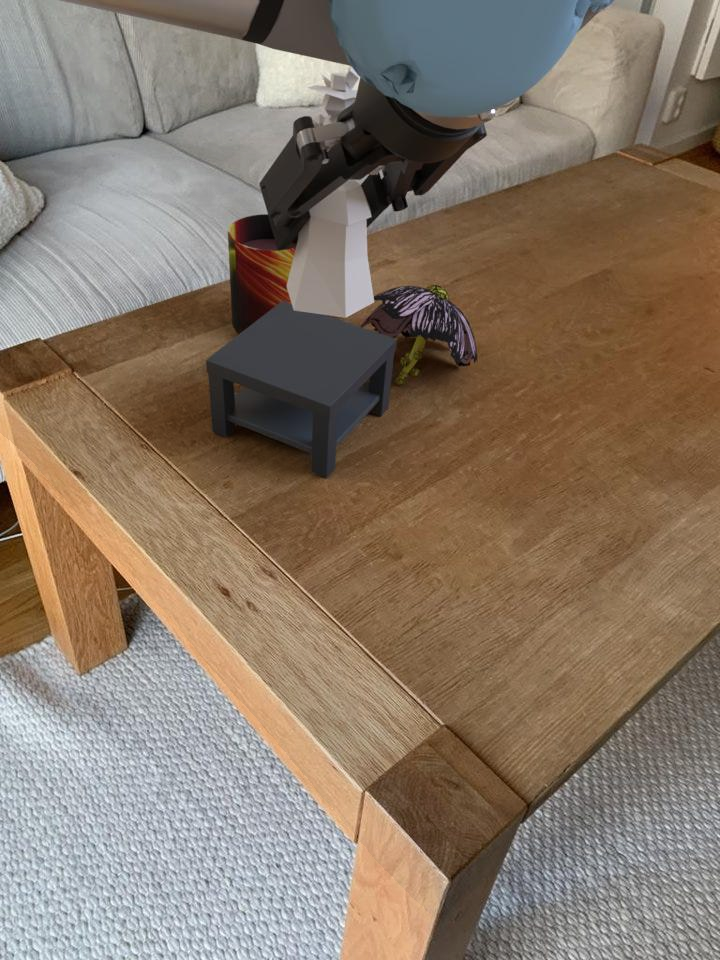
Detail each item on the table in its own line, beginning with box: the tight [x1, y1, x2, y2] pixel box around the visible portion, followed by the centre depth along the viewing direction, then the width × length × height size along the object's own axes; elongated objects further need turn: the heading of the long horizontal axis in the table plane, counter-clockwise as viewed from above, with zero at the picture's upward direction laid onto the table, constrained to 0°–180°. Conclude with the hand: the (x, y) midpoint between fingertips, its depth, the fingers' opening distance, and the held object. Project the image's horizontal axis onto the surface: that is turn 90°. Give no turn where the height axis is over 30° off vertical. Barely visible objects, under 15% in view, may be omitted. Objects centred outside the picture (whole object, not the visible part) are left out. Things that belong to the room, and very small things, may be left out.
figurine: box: [287, 66, 385, 319], centre depth 63 cm, size 7×8×18 cm
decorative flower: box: [359, 284, 478, 387], centre depth 94 cm, size 15×12×15 cm
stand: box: [205, 301, 398, 479], centre depth 85 cm, size 14×14×9 cm
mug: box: [227, 213, 299, 335], centre depth 100 cm, size 10×14×12 cm
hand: (314, 227), depth 68 cm, fingers closed on figurine, 6 cm apart
